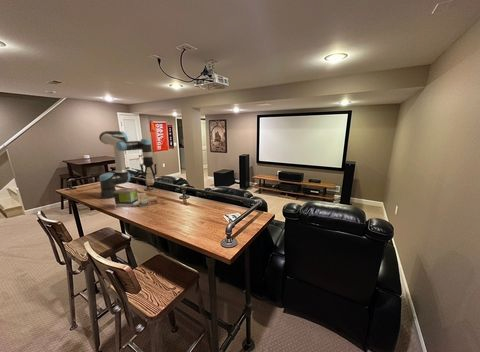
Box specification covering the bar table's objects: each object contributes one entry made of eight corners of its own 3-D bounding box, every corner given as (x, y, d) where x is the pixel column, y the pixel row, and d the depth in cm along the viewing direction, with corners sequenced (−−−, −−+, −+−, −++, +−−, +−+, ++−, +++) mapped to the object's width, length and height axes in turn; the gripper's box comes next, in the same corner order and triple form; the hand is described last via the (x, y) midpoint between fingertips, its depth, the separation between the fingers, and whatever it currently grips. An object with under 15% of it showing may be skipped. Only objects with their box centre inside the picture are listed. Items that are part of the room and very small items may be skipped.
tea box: (139, 203, 174) (137, 188, 171) (131, 208, 164) (129, 191, 161) (123, 203, 175) (121, 187, 172) (115, 207, 166) (112, 191, 162)
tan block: (141, 204, 168) (139, 193, 166) (146, 203, 170) (145, 192, 168) (141, 206, 164) (140, 195, 162) (147, 205, 167) (146, 194, 164)
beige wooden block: (148, 184, 175) (147, 173, 173) (153, 183, 176) (152, 172, 174) (147, 185, 171) (146, 174, 168) (152, 184, 172) (151, 173, 170)
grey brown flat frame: (139, 205, 169) (138, 202, 168) (157, 202, 177) (156, 199, 177) (140, 209, 162) (139, 205, 161) (159, 205, 170) (158, 202, 169)
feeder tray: (145, 201, 180) (144, 198, 180) (156, 199, 186) (156, 196, 185) (146, 204, 173) (146, 201, 172) (158, 202, 178) (158, 199, 178)
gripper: (135, 157, 162) (138, 184, 167) (157, 156, 167) (160, 182, 172) (137, 156, 169) (140, 182, 174) (158, 155, 174) (161, 180, 179)
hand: (150, 182), depth 173 cm, fingers closed on beige wooden block, 4 cm apart
